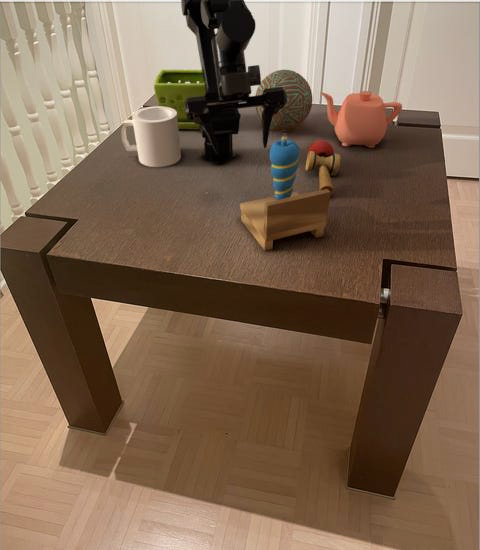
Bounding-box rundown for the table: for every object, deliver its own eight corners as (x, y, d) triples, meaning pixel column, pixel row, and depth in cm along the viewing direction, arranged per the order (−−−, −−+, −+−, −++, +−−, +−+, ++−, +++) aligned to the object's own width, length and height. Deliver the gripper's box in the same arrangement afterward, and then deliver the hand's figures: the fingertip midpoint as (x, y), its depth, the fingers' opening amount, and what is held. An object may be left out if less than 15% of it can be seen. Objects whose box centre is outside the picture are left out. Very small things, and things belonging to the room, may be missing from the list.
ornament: (300, 214, 84) (307, 136, 74) (276, 221, 82) (280, 142, 73) (286, 201, 88) (291, 125, 78) (262, 208, 86) (264, 130, 76)
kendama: (347, 202, 96) (337, 155, 109) (346, 178, 92) (336, 131, 104) (310, 207, 98) (304, 159, 110) (307, 183, 93) (302, 136, 105)
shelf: (240, 218, 90) (239, 174, 83) (294, 206, 93) (297, 163, 87) (265, 252, 81) (267, 206, 75) (324, 237, 84) (330, 191, 78)
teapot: (316, 128, 124) (321, 81, 117) (392, 132, 122) (401, 85, 114) (315, 148, 114) (320, 99, 107) (397, 153, 112) (408, 103, 104)
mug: (121, 167, 107) (112, 122, 100) (129, 148, 115) (122, 106, 108) (178, 166, 107) (174, 122, 100) (183, 148, 115) (179, 106, 108)
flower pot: (209, 133, 122) (207, 84, 114) (157, 133, 123) (151, 84, 115) (212, 114, 133) (210, 68, 125) (165, 114, 133) (160, 68, 125)
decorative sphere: (273, 114, 132) (275, 59, 123) (319, 126, 126) (325, 68, 116) (243, 131, 123) (243, 73, 114) (291, 144, 116) (295, 83, 107)
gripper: (177, 54, 76) (190, 149, 78) (287, 41, 77) (298, 136, 79) (181, 76, 87) (192, 159, 89) (277, 65, 88) (287, 147, 90)
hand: (241, 150), depth 86 cm, fingers open, 9 cm apart
